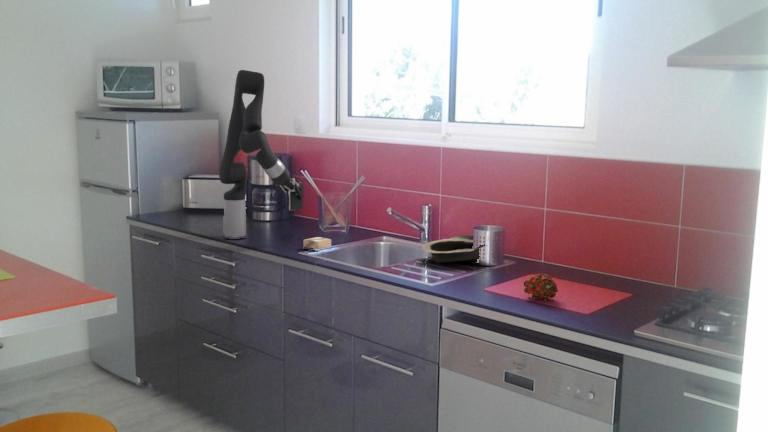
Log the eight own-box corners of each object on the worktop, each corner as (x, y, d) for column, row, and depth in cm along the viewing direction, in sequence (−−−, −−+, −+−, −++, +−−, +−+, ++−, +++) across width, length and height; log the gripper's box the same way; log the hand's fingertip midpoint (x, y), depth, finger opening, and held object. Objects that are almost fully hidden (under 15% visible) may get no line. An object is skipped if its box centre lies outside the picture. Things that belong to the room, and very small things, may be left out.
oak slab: (303, 249, 292) (303, 239, 292) (316, 246, 299) (316, 236, 298) (318, 251, 288) (318, 241, 287) (331, 248, 294) (331, 238, 293)
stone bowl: (500, 260, 274) (500, 237, 272) (464, 277, 255) (463, 252, 253) (446, 250, 289) (446, 228, 287) (408, 265, 270) (408, 242, 268)
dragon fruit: (555, 309, 215) (524, 306, 225) (568, 289, 219) (538, 286, 229) (542, 289, 212) (512, 286, 221) (556, 269, 216) (526, 267, 225)
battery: (297, 208, 299) (297, 181, 297) (303, 209, 296) (304, 182, 294) (284, 210, 293) (284, 182, 292) (290, 211, 291) (291, 183, 289)
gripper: (293, 164, 282) (315, 192, 293) (268, 162, 290) (290, 190, 301) (283, 178, 278) (306, 206, 289) (258, 176, 287) (281, 203, 298)
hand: (297, 198), depth 295 cm, fingers closed on battery, 4 cm apart
